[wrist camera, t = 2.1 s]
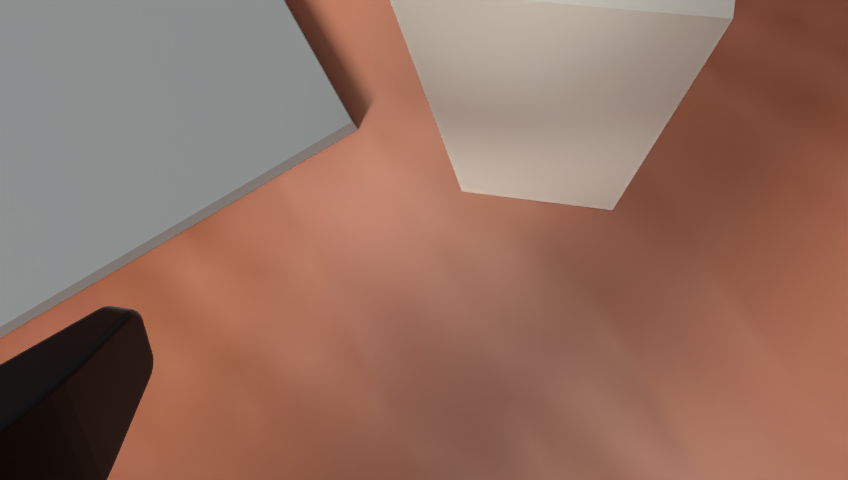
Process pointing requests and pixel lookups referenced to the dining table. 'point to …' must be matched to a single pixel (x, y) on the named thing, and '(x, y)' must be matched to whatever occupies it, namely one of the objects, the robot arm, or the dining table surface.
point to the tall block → (556, 87)
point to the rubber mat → (141, 129)
